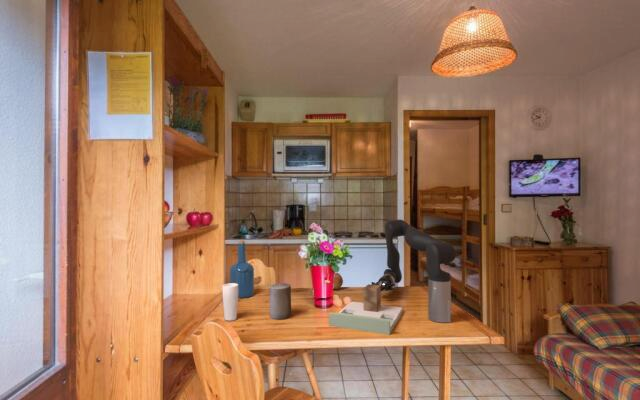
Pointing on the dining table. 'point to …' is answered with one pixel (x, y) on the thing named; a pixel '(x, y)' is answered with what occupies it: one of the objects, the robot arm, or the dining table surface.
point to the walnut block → (372, 298)
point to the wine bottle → (242, 273)
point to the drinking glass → (230, 301)
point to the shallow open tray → (366, 318)
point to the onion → (337, 281)
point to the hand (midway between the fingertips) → (379, 289)
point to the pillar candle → (280, 301)
